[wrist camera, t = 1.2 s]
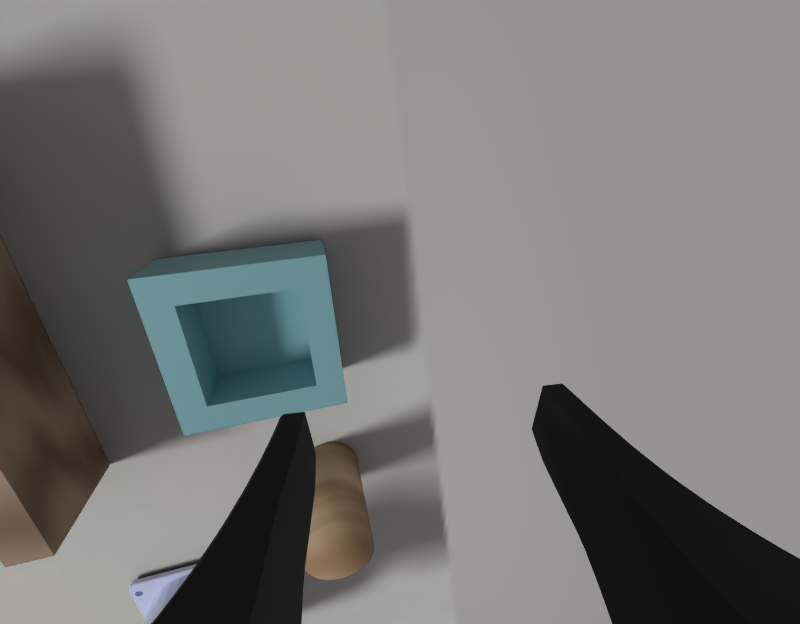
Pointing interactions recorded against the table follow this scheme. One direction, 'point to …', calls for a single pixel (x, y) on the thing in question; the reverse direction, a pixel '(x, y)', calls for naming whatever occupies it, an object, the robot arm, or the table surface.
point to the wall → (38, 433)
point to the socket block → (242, 333)
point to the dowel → (338, 516)
